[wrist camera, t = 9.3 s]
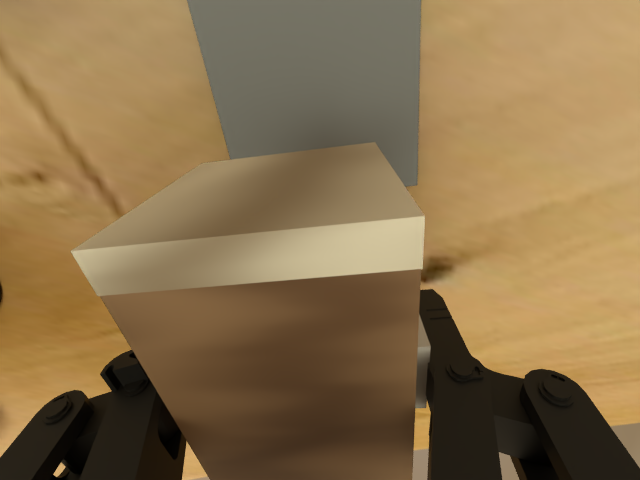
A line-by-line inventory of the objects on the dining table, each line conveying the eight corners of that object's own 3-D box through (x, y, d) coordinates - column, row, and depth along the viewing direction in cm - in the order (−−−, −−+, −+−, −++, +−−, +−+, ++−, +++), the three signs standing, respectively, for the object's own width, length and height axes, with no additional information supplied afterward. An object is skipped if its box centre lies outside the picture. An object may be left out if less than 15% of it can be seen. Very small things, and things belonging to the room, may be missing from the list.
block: (247, 544, 11) (70, 250, 5) (274, 395, 17) (201, 163, 11) (410, 543, 11) (425, 215, 5) (384, 389, 16) (374, 142, 10)
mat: (244, 201, 29) (242, 203, 28) (177, -47, 20) (173, -50, 20) (415, 183, 27) (417, 185, 26) (420, -99, 18) (422, -104, 18)
